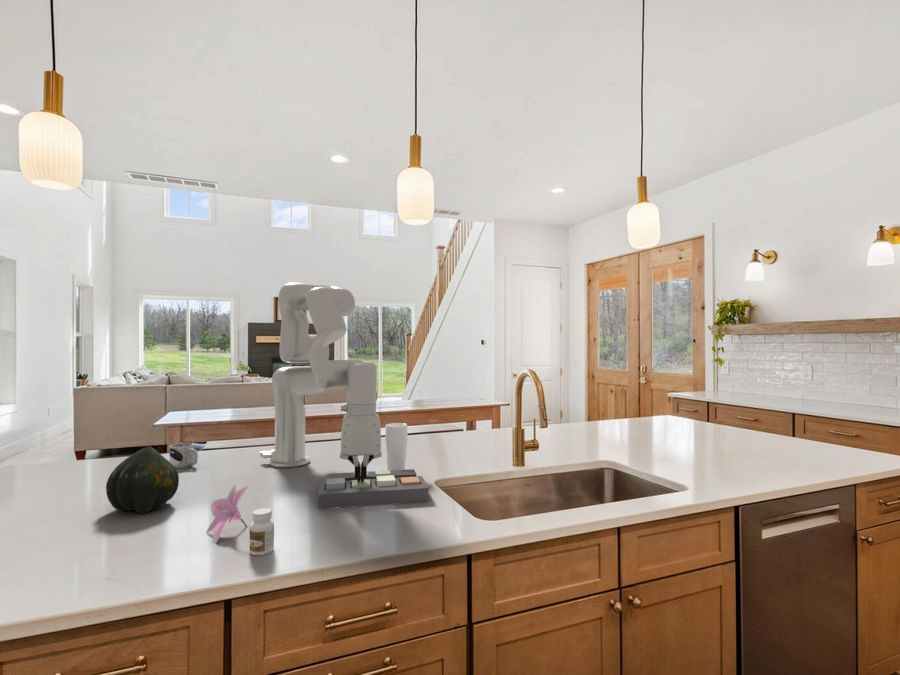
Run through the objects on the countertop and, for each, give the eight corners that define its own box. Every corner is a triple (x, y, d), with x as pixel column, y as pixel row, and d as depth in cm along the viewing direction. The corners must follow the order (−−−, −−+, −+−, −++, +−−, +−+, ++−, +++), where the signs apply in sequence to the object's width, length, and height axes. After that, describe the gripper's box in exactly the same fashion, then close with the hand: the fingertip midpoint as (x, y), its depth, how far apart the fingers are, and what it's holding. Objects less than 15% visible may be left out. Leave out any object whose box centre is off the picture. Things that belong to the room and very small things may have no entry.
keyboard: (318, 509, 115) (318, 491, 115) (321, 488, 130) (321, 472, 130) (428, 501, 121) (428, 484, 121) (418, 482, 136) (418, 467, 136)
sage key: (351, 495, 120) (352, 485, 120) (351, 489, 125) (351, 480, 125) (370, 493, 121) (370, 484, 121) (369, 488, 126) (369, 479, 126)
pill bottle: (244, 553, 91) (244, 513, 91) (260, 544, 95) (261, 505, 95) (262, 557, 89) (262, 516, 89) (278, 548, 93) (279, 508, 93)
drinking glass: (403, 477, 141) (403, 427, 141) (381, 476, 142) (382, 426, 142) (409, 471, 147) (410, 423, 147) (389, 470, 149) (389, 422, 149)
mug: (164, 467, 150) (164, 446, 150) (183, 462, 156) (183, 441, 156) (187, 470, 146) (187, 449, 146) (205, 465, 153) (205, 444, 152)
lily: (214, 526, 107) (193, 495, 103) (265, 501, 110) (248, 470, 106) (211, 564, 96) (188, 532, 92) (268, 536, 99) (249, 503, 95)
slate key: (325, 493, 119) (326, 484, 119) (326, 488, 123) (326, 478, 123) (344, 492, 120) (344, 483, 120) (344, 486, 124) (344, 477, 124)
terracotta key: (402, 491, 123) (402, 482, 123) (400, 486, 127) (400, 477, 127) (419, 490, 124) (420, 481, 124) (417, 485, 128) (417, 476, 128)
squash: (110, 503, 102) (158, 442, 111) (80, 493, 110) (127, 437, 119) (162, 530, 111) (203, 472, 120) (131, 519, 119) (171, 465, 128)
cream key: (377, 490, 121) (377, 481, 121) (376, 485, 126) (376, 476, 126) (395, 489, 122) (395, 480, 122) (393, 484, 127) (393, 475, 127)
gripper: (331, 412, 118) (330, 486, 118) (391, 411, 121) (390, 483, 121) (332, 408, 125) (331, 477, 125) (389, 407, 128) (388, 474, 128)
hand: (360, 480), depth 123 cm, fingers closed
